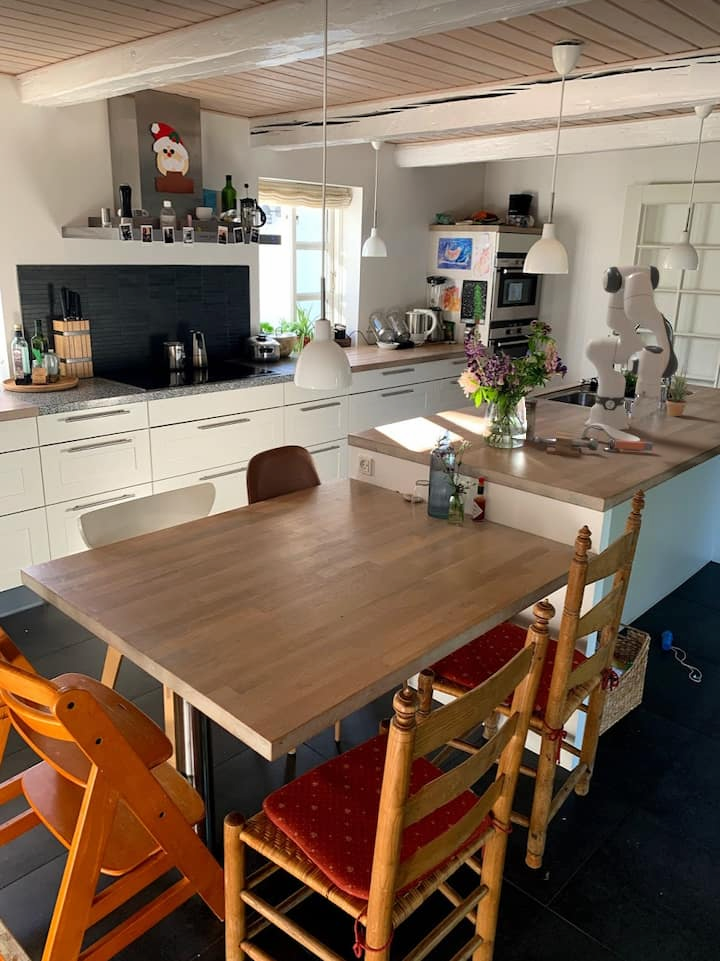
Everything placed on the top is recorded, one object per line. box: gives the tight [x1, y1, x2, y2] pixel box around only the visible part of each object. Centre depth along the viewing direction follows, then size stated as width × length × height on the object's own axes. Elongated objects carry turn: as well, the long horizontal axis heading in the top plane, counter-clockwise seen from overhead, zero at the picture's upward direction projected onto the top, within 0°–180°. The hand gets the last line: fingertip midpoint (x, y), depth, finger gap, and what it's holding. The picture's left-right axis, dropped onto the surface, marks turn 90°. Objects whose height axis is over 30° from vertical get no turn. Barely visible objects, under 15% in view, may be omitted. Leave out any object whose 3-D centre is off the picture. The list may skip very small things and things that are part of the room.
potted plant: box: [665, 365, 689, 417], centre depth 360 cm, size 10×10×25 cm
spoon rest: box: [580, 423, 641, 445], centre depth 308 cm, size 24×12×7 cm, turn 52°
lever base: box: [602, 438, 620, 453], centre depth 296 cm, size 6×6×4 cm
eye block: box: [546, 430, 581, 457], centre depth 294 cm, size 14×12×6 cm
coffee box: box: [524, 398, 538, 442], centre depth 310 cm, size 9×6×16 cm
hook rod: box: [533, 436, 599, 451], centre depth 294 cm, size 3×24×4 cm, turn 74°
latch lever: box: [614, 440, 654, 452], centre depth 295 cm, size 14×2×3 cm, turn 80°
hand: (642, 425), depth 290 cm, fingers closed
